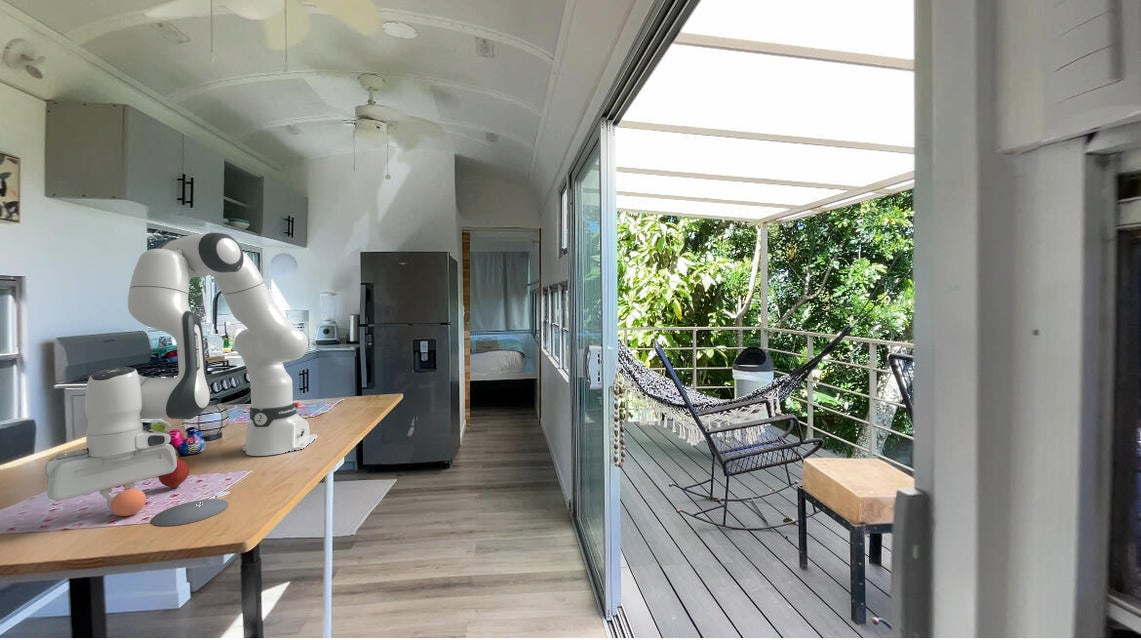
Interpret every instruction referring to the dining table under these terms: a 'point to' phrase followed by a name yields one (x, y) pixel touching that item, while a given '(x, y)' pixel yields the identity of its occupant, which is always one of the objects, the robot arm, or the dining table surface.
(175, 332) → the robot arm
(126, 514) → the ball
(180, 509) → the disc
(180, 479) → the onion
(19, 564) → the dining table surface
